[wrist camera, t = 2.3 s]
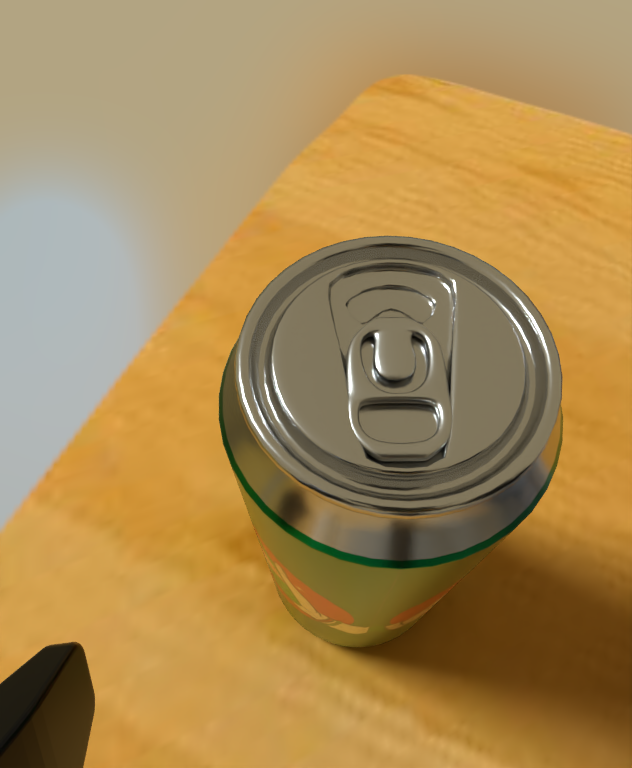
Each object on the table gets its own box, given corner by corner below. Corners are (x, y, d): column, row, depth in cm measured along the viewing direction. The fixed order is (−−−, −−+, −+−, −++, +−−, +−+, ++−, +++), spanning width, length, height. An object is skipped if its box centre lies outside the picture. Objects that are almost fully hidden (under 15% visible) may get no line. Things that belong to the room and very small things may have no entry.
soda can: (427, 483, 19) (550, 213, 9) (443, 648, 17) (644, 546, 6) (275, 483, 19) (221, 216, 9) (270, 649, 17) (184, 548, 6)
